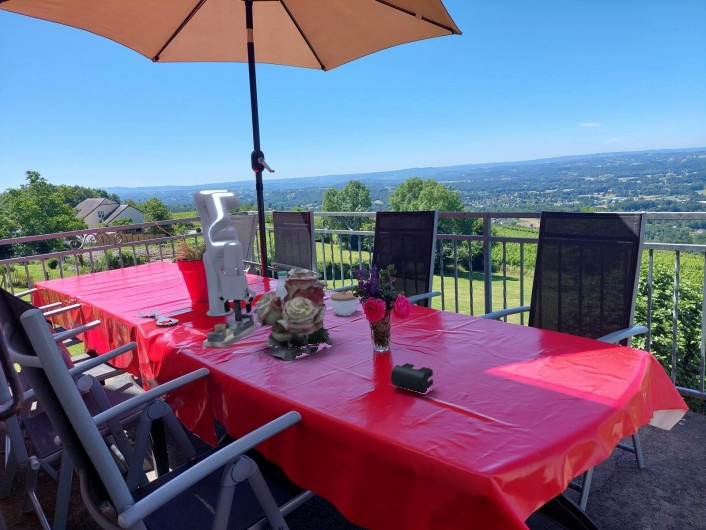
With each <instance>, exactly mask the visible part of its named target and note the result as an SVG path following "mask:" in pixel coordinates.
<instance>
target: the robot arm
mask: <svg viewBox="0 0 706 530" xmlns="http://www.w3.org/2000/svg"><path fill="white" fill-rule="evenodd" d="M193 202H194V206H195V208H196V211H197V213H198V215H199V217H200V218H199V219H200V220H201V221H200V223H201V230H202V237H203V242H204V244H205V247H206V251H204V253H203V254H202V261H203V265H204V269H205V270H204V271H205V274H206V283H207V284H206V285H207V294H208V305H209V310H208V311H206V315H207V316H208V317H213V318H214V317H216V318H217V317H224V316H229V315H231V314H233V313H234V308H232V307H231V304H230V303H231V302H230V301H233V300H241V301H243V300H244V302H245V314H250V313H251V312H252V310H253V309H252V303H253V301H254V300H255V299H256V295H257V292H256V291H254V290H252V289H250V287H249V282H248V277H247V275H246V274H245V268H244V267H245V265H244V255H243V244H242V243H241V242H240V241H239V236H238V234H239V233H238V231H237V228H236V227H235V226H233V225H230V224H231V222H232V221H231V220H232V218H231V216H230V212H229V211H236V210H237V209H239V207H240V199H239V195H238V193H237V192H235V190H233V189H231V188H205V189H204V188H203V189H199V190H196V191H195V192H194V194H193ZM250 295H251V296H250Z"/></svg>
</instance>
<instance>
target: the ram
mask: <svg viewBox="0 0 706 530" xmlns="http://www.w3.org/2000/svg"><path fill="white" fill-rule="evenodd" d="M232 302H233V311H234V312H233V313H234V317H233V318H231V319H229V320H228V321H227V323H228V328H229V329H231V330H238V329H239V328H241V327H242V326H244V325H246V324H247V323H249V322H250V318H242V314H243V311H242V310H243V309H242V300H232Z"/></svg>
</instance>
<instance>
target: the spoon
mask: <svg viewBox="0 0 706 530" xmlns="http://www.w3.org/2000/svg"><path fill="white" fill-rule="evenodd" d="M149 310H150V309H149ZM151 312H152V313H154V314H152V315H151V316H154V317H158V319H157V320H156V324H157V325H158V326H161V325H168V326H172V325H174V324H176V323H178V322H179V319H176V318H171V317H166V316H163V315H162V313H159V310H158V309H157V308H156V307H155V308H154V309H152V310H150V311H148V310H147V311H139V310H138V311H137V313H138V314H139V315H141V316H143V315H144V314H148V313H151ZM169 320H171V321H172V322H169V323H165V324H162V323H159V322H163V321H169ZM171 324H172V325H171Z"/></svg>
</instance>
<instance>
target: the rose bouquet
mask: <svg viewBox="0 0 706 530" xmlns="http://www.w3.org/2000/svg"><path fill="white" fill-rule="evenodd" d="M320 273H321V272H317V273H314V271H311V270H309V269H306V268H299V267H298V266H296V267H291V269H290V270H289V271H287V275H289V276H288V277H287V279H285V282H286V283H284V287H285V289H286V290H287V295H286V296H281V295H278V294H277V293H276V291H275V289H271V290H269V291H267V292H264V293H263V295H262V296H261V297H260V298H259V300H258V301H257V302H255V305H256V306H258V307H257V308H255V309H254V310H253V315H255V314H257V315H256V321H257V322H258V323H260V327H261V328H263V327H265V326H266V328H268V327H271V328H270V329H269V331H270V330H271V331H270V332H271V333H270V334H269V336H268V339H267V340H266V342H265V345H266V344H267V345H272V346H270V347H269V346H267V345H266V348H268V349H270V351H268V354H269V355H270V356H276V357H278V358H279V357H280V358H282V359H283V360H284V361H285V362H289V361H288V360H290V361H296V360H297V359H295V358H296V356H300V355H302V353H306V354H311V355H313V354H312V353H315V352H316V351H317V350H318V347H309V346H308V344H317V343H319V344H321V343H322V340H323V341H324V342H325V343H326V344H328V345H332V346H333V342H332V340H331V339H330V337H329V336H330V335H331V333H330V332H329V329H328V328H324V326H325V324H324V317H325V314H326V310H327V306H326V303H325V302H324V301H328V300H331V296H330V297H329V296H328V297H327V296H326V291H324V289H325V288H326V287H328V286H329V284H328V283H327V282H325V281H322V280H319V278H318V277H319V276H320V275H321V274H320ZM325 297H326V298H325ZM305 345H307V347H306V348H302V349H288V348H296V347H295V346H299V347H298V348H301V346H305ZM317 345H318V344H317ZM275 346H279V347H277V348H275ZM281 346H284V347H281ZM285 347H287V348H285ZM294 359H295V360H294Z"/></svg>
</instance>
